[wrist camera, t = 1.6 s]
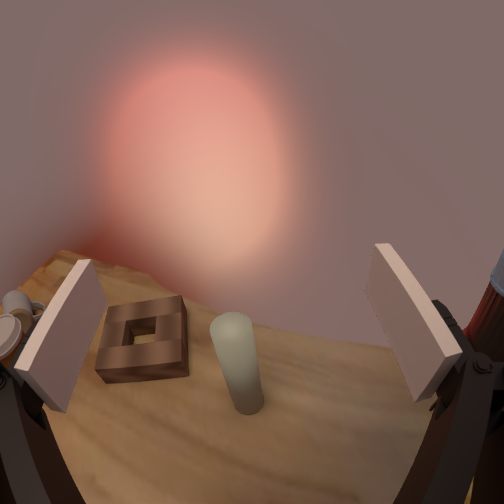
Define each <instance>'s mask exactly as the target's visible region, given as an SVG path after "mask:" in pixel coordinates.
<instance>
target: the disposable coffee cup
mask: <svg viewBox="0 0 504 504" xmlns="http://www.w3.org/2000/svg"><path fill="white" fill-rule="evenodd" d="M24 337H25V333H24V331H23V330H22V326H21V323H20V321H19V319H17V318H16V317H14V316H13V315H11V314H3V315H1V316H0V361H1V362H2V363H3V365H4V366H5V367H6V368H7V369H8V367H9V365H10V363H11V361H12V359H13V357H14V355H15V353H16V351H17V349H18V347H19V345H21V342H22V340H23V338H24Z"/></svg>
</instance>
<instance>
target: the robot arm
mask: <svg viewBox="0 0 504 504" xmlns="http://www.w3.org/2000/svg"><path fill="white" fill-rule="evenodd" d="M490 277H491V280H490V283H489V285H488V287H487V289H486V291H485V293H484V296H483V298H482V300H481V302H480V304H479V306H478V308H477V310H476V312H475V314H474V316H473V317H472V319H471V321H470V323H469V325H468V326H467V327H466V328H465V329H464V330H461V328H460V327H459V326H458V325H457V322H456V321H455V319H454V318H452V315H451V313H450V312H449V310H448V309H447V307H445V306H444V305H443V304H442V303H441V302H439V301H438V300H432V301H431V300H430V299H429V297H428V296H427V294H426V293H425V292H424V290H423V289H422V287H421V286H420V284H419V283H418V282H417V280H416V279H415V277H414V276H413V275H412V273H411V272H410V270H409V269H408V268H407V266H406V265H405V264H404V262H403V261H402V260H401V258H400V257H399V256H398V254H397V253H396V252H395V250H394V249H393V248H392V246H391V245H390V244H389V243H386V244H385V243H384V244H375V245H374V250H373V255H372V260H371V265H370V269H369V274H368V278H367V283H366V287H365V293H366V295H367V297H368V299H369V301H370V303H371V305H372V307H373V309H374V311H375V313H376V315H377V317H378V319H379V322H380V324H381V326H382V328H383V330H384V332H385V335H386V336H387V339H388V341H389V343H390V346H391V348H392V350H393V352H394V354H395V357H396V359H397V361H398V364H399V366H400V368H401V371H402V373H403V375H404V378H405V380H406V383H407V385H408V387H409V390H410V392H411V395H412V397H413V400H414V402H418V401H421V400H425V399H428V398H431V397H432V395H433V394H434V393H435V391H436V392H437V394H438V397H439V398H438V399H437V400H436V401H435V403H434V404H433V405H432V406H431V408H430V410H429V411H432V410H433V409H434V408H435V409H434V412H433V415H432V417H431V420H430V423H429V426H428V429H427V431H426V434H425V436H424V439H423V442H422V444H421V446H420V449H419V451H418V454H417V456H416V458H415V460H414V463H413V465H412V467H411V469H410V471H409V473H408V476H407V478H406V480H405V482H404V484H403V486H402V488H401V490H400V491H399V493H398V495H397V497H396V499H395V501H394V503H393V504H464V502H465V499H466V497H467V494H468V491H469V489H470V486H471V483H472V480H473V486H472V493H471V500H470V504H504V250H503V251H502V254H501V256H500V258H499V261H498V263H497V265H496V266H495V267H494V269H493V270H492V273H491V276H490ZM107 305H108V302H107V299H106V297H105V294H104V292H103V289H102V287H101V284H100V282H99V279H98V276H97V274H96V271H95V268H94V266H93V263H92V260H91V259H87V260H78V261H77V263H76V264H75V266H74V267H73V269H72V270H71V272H70V273H69V274H68V276H67V277H66V279H65V280H64V282H63V283H62V285H61V286H60V288H59V290H58V291H57V293H56V294H55V296H54V297H53V299H52V300H51V302H50V304H49V305H48V307H47V309H46V310H45V312H44V314H43V315H42V317H41V319H37V320H36V321H35V322H34V323H33V324H32V325H31V326H30V328H29V329H28V331H27V333H26V335H25V337H24V338H23V340H22V342H21V345H19V347H18V349H17V351H16V353H15V355H14V357H13V359H12V361H11V363H10V365H9V367H8V369H7V368H6V367H5V366H4V365H3V363H2V362H1V361H0V504H86V503H85V501H84V499H83V498H82V496H81V494H80V492H79V490H78V488H77V486H76V484H75V482H74V480H73V478H72V476H71V474H70V472H69V470H68V468H67V466H66V464H65V461H64V459H63V457H62V455H61V452H60V450H59V448H58V445H57V443H56V440H55V438H54V435H53V432H52V430H51V427H50V424H49V421H48V419H47V416H46V413H45V411H44V409H43V408H42V406H43V403H45V404H46V405H47V406H48V407H49V408H50V409H51V410H54V411H58V412H62V413H66V410H67V407H68V404H69V401H70V398H71V395H72V392H73V389H74V386H75V384H76V381H77V378H78V375H79V373H80V370H81V367H82V365H83V362H84V360H85V357H86V354H87V352H88V349H89V347H90V344H91V342H92V340H93V337H94V335H95V332H96V330H97V328H98V325H99V323H100V321H101V319H102V316H103V314H104V312H105V310H106V307H107ZM473 477H474V479H473Z"/></svg>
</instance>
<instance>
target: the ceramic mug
mask: <svg viewBox="0 0 504 504" xmlns="http://www.w3.org/2000/svg"><path fill="white" fill-rule="evenodd" d="M2 306H3V312H4V314H11V315H13V316H14V317H16V318H17V319H19V321H20V323H21V326H22V330H23V331H24V333H25V334H26V333H27V331H28V329H29V328H30V326H31V325H32V324H33V323H34V321H36V320H37V319H41V317H42V315H43V314H44V312H45V310H46V306H45V305H44V304H43V303H40V302H35V301H34V302H31V301H30V299H29V297H28V296H27V295H26V294H25V293H23V292H22V291H18V290H17V291H16V290H15V291H11V292H9V293H8V294H6V295H5V297H4V299H3V302H2ZM34 307H36V308H41V309H43V311H44V312H43V313H42V314H39V315H34V316H33V312H32V308H34Z"/></svg>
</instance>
